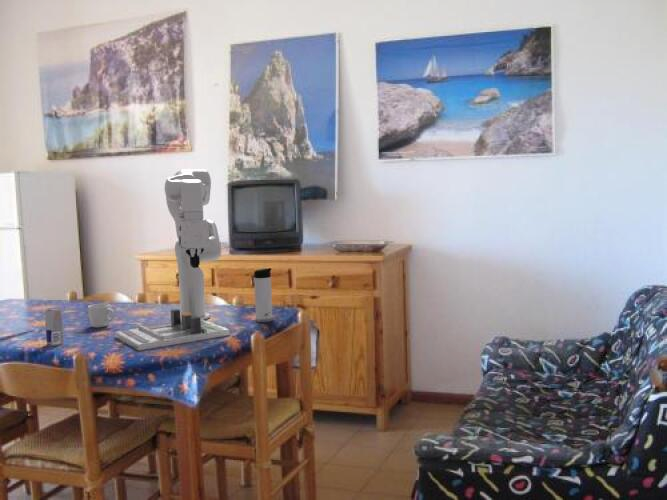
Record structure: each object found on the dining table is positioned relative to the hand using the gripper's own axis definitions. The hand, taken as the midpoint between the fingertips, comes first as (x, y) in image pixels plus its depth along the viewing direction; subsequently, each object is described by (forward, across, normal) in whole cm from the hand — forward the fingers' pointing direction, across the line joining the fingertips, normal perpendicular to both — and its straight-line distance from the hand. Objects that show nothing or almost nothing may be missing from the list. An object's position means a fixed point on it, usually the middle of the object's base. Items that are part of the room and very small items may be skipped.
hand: (195, 267), depth 243 cm
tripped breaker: (+20, -6, -5) cm, 22 cm away
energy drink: (+23, -47, +10) cm, 53 cm away
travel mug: (+23, +25, -3) cm, 34 cm away
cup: (+24, -26, +28) cm, 45 cm away
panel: (+22, -12, -5) cm, 26 cm away
